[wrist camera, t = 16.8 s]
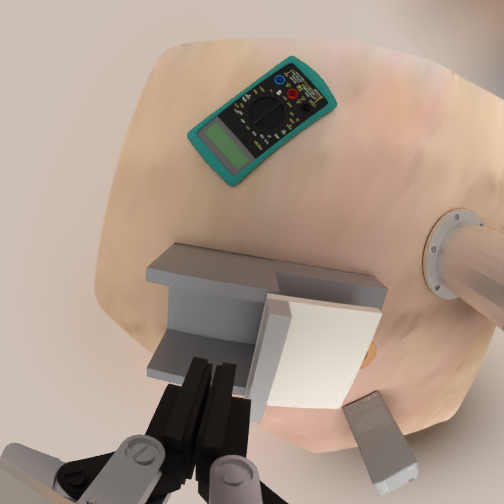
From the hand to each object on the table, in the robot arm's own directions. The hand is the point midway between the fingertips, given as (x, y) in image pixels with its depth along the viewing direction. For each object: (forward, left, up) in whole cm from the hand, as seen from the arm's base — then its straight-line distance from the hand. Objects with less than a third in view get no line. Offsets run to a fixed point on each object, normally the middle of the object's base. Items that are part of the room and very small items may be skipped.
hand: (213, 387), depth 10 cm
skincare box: (-25, +24, -21) cm, 40 cm away
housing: (-4, +7, -21) cm, 22 cm away
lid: (-8, +7, -12) cm, 16 cm away
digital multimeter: (0, -14, -22) cm, 26 cm away
